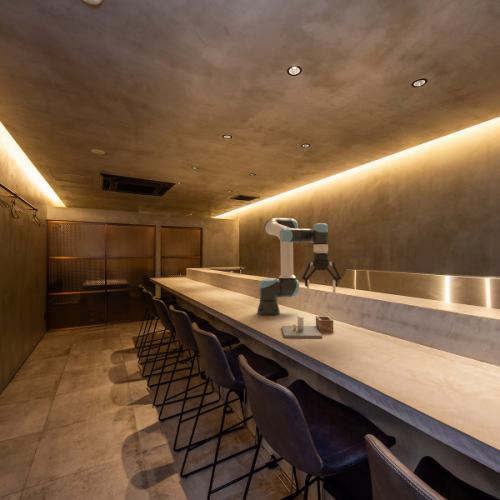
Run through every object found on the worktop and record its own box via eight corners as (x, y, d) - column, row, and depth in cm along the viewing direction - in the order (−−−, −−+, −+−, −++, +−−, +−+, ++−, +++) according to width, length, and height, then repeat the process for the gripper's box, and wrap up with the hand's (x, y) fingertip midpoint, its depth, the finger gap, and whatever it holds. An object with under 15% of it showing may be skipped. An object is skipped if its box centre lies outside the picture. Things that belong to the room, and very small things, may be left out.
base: (281, 328, 157) (281, 313, 157) (315, 328, 156) (314, 313, 157) (284, 337, 139) (284, 321, 139) (322, 338, 138) (322, 321, 139)
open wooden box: (315, 326, 159) (315, 315, 159) (328, 326, 159) (328, 315, 159) (319, 332, 149) (319, 320, 149) (333, 332, 149) (333, 320, 149)
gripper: (297, 252, 150) (298, 293, 150) (346, 252, 149) (347, 293, 149) (296, 252, 158) (296, 291, 158) (342, 252, 156) (343, 291, 156)
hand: (321, 292), depth 153 cm, fingers open, 13 cm apart
